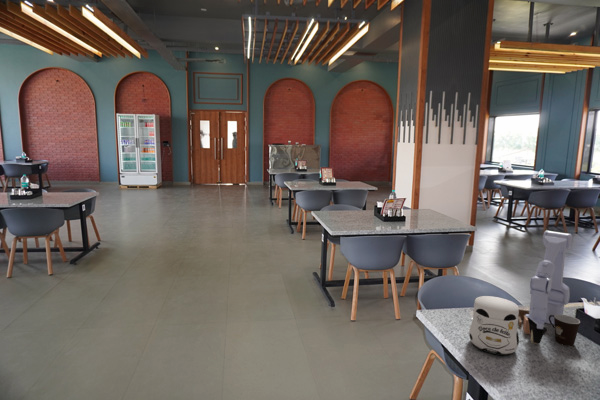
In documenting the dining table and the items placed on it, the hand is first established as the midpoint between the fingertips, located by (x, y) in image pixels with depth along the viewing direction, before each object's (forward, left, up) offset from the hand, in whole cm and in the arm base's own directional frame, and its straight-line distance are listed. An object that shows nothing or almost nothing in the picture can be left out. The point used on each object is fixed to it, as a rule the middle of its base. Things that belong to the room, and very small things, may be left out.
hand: (534, 338), depth 156 cm
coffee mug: (-7, +11, -2) cm, 13 cm away
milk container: (+12, -16, -2) cm, 20 cm away
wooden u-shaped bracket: (-17, 0, -2) cm, 17 cm away
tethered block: (-6, 0, -2) cm, 6 cm away
